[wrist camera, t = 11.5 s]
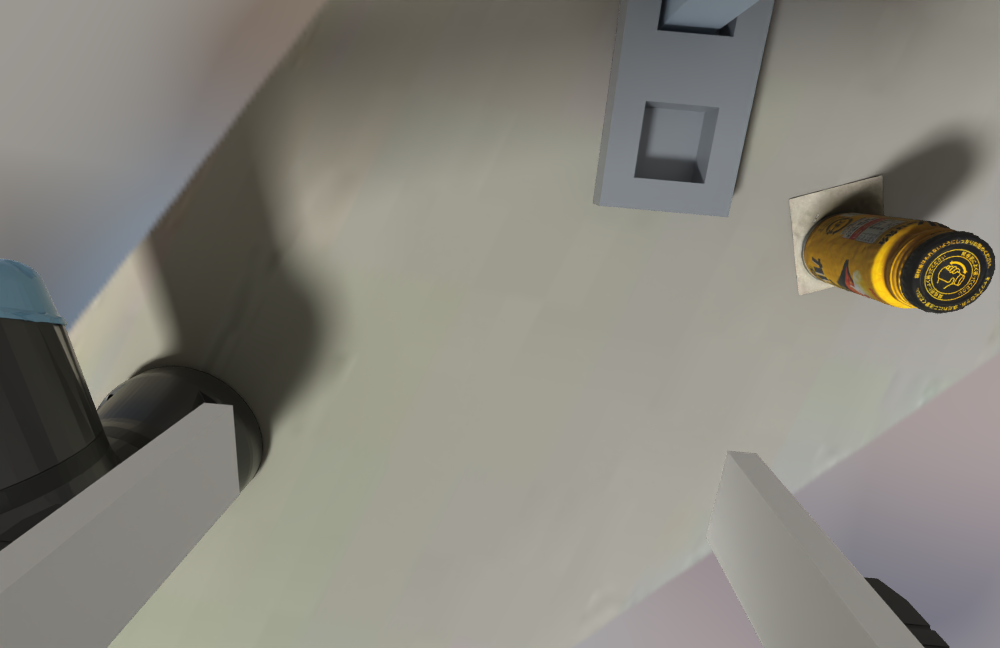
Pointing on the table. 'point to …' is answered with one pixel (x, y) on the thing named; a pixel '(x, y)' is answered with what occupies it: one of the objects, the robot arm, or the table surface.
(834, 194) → the condiment
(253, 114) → the table surface
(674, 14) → the plug
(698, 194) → the panel
